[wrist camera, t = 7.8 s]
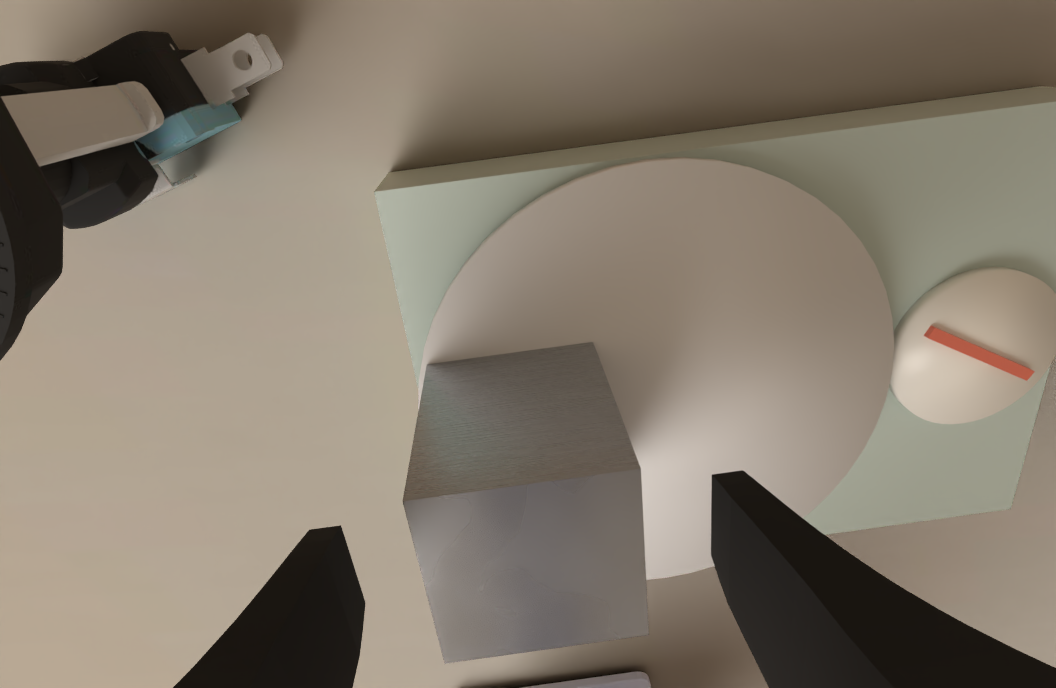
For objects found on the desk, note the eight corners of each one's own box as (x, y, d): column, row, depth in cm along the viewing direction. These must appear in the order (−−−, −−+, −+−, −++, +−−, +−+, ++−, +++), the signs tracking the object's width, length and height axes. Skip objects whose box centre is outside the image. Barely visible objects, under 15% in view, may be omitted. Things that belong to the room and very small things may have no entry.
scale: (957, 462, 21) (1031, 526, 18) (464, 530, 21) (461, 606, 18) (1040, 86, 16) (1161, 94, 13) (388, 172, 16) (368, 199, 13)
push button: (214, -70, 14) (-308, -300, 5) (344, 158, 16) (163, 304, 7) (-30, 68, 14) (-880, 102, 5) (126, 267, 17) (-295, 526, 8)
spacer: (603, 476, 17) (648, 634, 12) (455, 496, 17) (444, 663, 12) (592, 341, 15) (640, 468, 10) (426, 364, 15) (402, 501, 10)
